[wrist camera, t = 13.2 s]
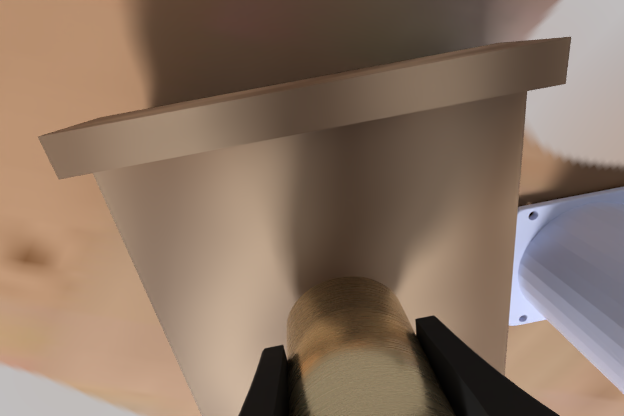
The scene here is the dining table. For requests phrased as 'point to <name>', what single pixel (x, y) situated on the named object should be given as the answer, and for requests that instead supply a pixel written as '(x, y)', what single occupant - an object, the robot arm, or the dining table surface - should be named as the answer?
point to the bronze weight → (357, 355)
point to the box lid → (321, 200)
